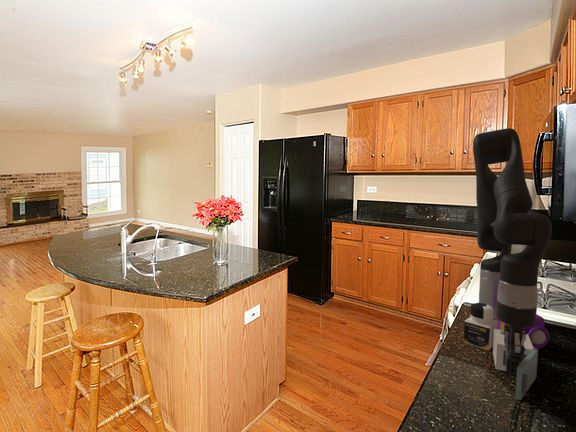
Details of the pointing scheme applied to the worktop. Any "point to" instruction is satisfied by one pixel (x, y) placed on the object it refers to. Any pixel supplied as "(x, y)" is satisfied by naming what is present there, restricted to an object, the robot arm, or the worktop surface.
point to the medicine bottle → (480, 326)
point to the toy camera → (534, 332)
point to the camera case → (500, 349)
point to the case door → (526, 373)
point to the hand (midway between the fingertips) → (511, 372)
